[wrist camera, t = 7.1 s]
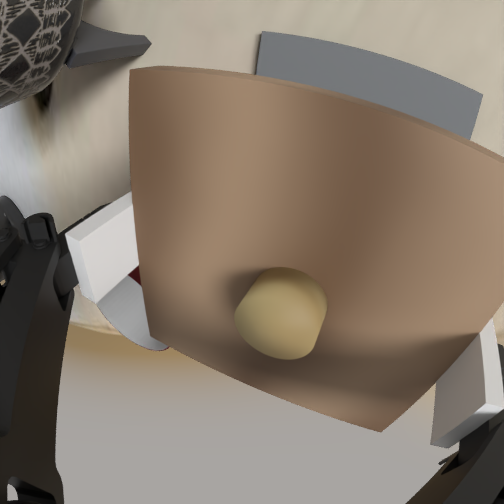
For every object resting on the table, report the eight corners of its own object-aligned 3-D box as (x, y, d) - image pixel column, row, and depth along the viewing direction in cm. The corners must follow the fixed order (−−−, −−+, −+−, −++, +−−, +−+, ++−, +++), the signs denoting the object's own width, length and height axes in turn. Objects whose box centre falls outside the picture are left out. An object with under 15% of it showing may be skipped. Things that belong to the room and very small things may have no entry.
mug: (161, 273, 33) (100, 334, 26) (134, 205, 30) (58, 259, 22) (247, 279, 29) (189, 361, 21) (223, 195, 25) (142, 265, 17)
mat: (238, 233, 26) (235, 237, 26) (265, 31, 17) (262, 31, 16) (400, 292, 23) (400, 297, 22) (480, 93, 13) (483, 94, 13)
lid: (165, 318, 16) (133, 355, 14) (159, 65, 9) (93, 76, 6) (385, 408, 13) (374, 458, 11) (541, 179, 6) (585, 225, 3)
